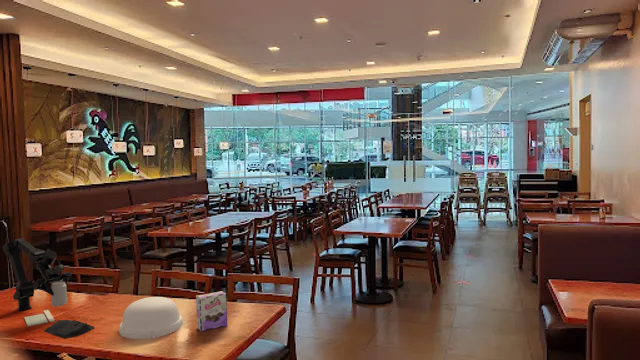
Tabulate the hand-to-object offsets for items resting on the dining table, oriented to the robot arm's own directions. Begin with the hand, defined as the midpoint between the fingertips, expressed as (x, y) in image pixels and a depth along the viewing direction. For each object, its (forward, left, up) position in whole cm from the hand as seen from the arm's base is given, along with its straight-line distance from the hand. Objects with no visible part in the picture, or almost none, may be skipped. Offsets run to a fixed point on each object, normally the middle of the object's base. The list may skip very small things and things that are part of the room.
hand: (60, 292), depth 258 cm
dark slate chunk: (+24, 0, -14) cm, 28 cm away
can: (-1, -1, -7) cm, 7 cm away
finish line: (-7, -5, -13) cm, 16 cm away
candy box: (+67, +56, -13) cm, 88 cm away
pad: (-4, -12, -13) cm, 18 cm away
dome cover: (+47, +33, -14) cm, 59 cm away
